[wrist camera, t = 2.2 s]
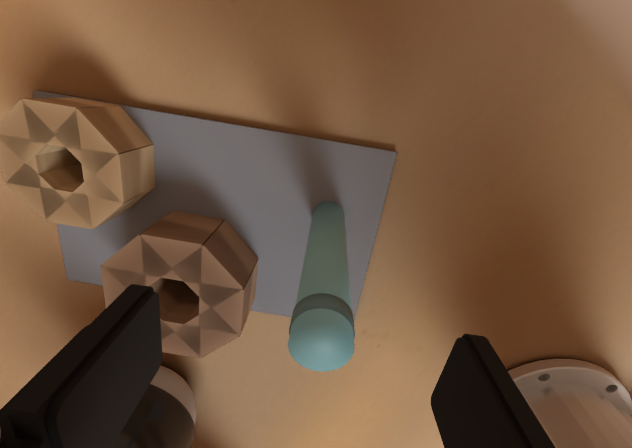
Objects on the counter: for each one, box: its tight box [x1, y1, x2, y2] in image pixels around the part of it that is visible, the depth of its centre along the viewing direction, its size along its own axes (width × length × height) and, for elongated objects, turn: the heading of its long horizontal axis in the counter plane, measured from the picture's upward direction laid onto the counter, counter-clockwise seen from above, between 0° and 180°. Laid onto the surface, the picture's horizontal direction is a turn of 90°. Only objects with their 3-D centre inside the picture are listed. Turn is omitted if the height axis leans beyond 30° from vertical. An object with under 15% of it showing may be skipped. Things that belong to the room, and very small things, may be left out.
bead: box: [100, 211, 259, 358], centre depth 22 cm, size 9×9×4 cm
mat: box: [33, 91, 397, 319], centre depth 22 cm, size 23×14×1 cm, turn 81°
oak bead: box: [0, 98, 156, 229], centre depth 19 cm, size 7×7×4 cm
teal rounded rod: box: [288, 201, 355, 371], centre depth 16 cm, size 2×2×12 cm
